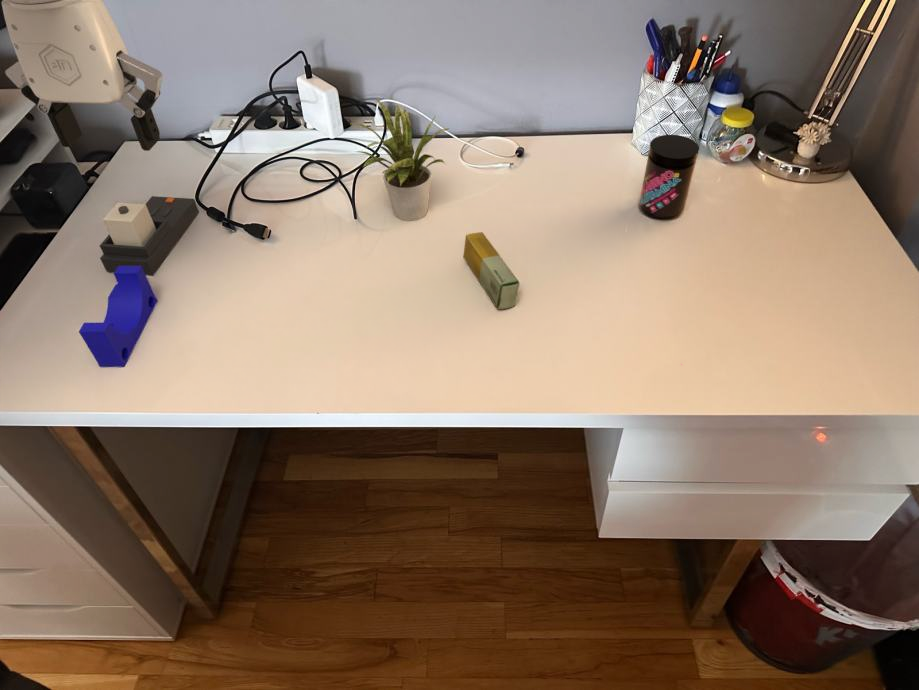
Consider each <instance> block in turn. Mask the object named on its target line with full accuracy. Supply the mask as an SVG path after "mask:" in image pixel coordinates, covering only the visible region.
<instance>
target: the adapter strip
mask: <svg viewBox="0 0 919 690" xmlns="http://www.w3.org/2000/svg"><path fill="white" fill-rule="evenodd" d="M145 204H146V206H147V209H148V211H149V213H150V216H151V218H152V221H153V223H154V225H155V228H156V232H155V233H154V234H153V235H152V237H151V238H150V239H149V240H148V242H147V243H146V244H145V246H144V247H142V246H128V245H114V243H113V240H112V238H111V236H110V234H109V233H108V235H107V236H106V237H105V238H104V240H103V241H102V242H101V243H100V245H99V248H100V250H101V251H102V252H101V253H102V255H101V256H100V258H99V259H100V261H101V263H102V265H103V267H104V269H105V271H106V272H107V273H113V274H114V272H115V270H116V269H117V267H118V266H142V269H143V271H144V273H145V275H146V276H155V274H156V273H157V271H158V270H159V268H160V267H161V265H163V263H164V261H165V260H166V259H167V257H168V256H169V254H170V253H171V252H172V250H173V249H174V248H175V246H176V245H177V243H179V241H180V240H181V238H182V237H183V235H184V234H185V233H186V231H187V230H188V229H189V228H190V225H191V224H192V223H193V222H194V220H195V219H196V217H197V216H198V215H199V213H200V210H199V208H198V204H197V203H196V200H195V198H188V197H187V198H186V197H175V196H173V197H171V196H156V195H151V197H150V198H149V199H148V200H147V201H146V203H145Z"/></svg>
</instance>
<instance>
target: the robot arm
mask: <svg viewBox="0 0 919 690" xmlns="http://www.w3.org/2000/svg"><path fill="white" fill-rule="evenodd" d="M1 7H2V13H3V17H4V21H5V24H6V28H7V32H8V35H9V38H10V42H11V44H12V47H13V49H14V52H15V55H16V57H17V60H18V61H16V62H15V63H14V64H12V65H11V66H10V67H8V68H6V69H5V71H4V73H5V75H6V77H7V78H8V79H9V80H10V81H11V82H12V83H13V84H14V85H15V86H16V87H17V88H18V89H20V91H21V94H22V95H23V96H24V97H25V98H26V99H28V100H29V101H31V103H33V104H34V105H36V107H37V110H38V111H39V112H40V113H41V114H43V115H47V117H48V120H49V122H50V125H51V126H52V128H53V130H54V132H55V135H56V136H57V138H58V140H59V142H60V144H61V146H62V148H69V147H71V146H72V145H74V143H75V142H76V141H77V140H79V138H81V137H82V135H83V133H82V132H83V131H82V130H81V128H80V125H79V124H78V123H79V122H77V118H76V117H75V113H74V112H73V110H72V108H71V106H70V105H69V104H82V105H83V104H84V105H86V104H87V105H113V104H116V103H119V104H120V105H122V106H123V107H124V108H126V110H128V111H129V112H130V113H131V114H132V116H131V118H130V122H131V124H132V127H133V128H132V129H133V130H134V132H135V135H136V138H137V140H138V143H139V145H140V149H142V150H143V151H145V152H147V151H148V152H149V151H151V150H152V148H154V146H155V145H156V144H157V143H158V142H159V141H160V138H161V137H160V129H159V126H158V124H157V121H156V118H155V115H154V113H153V110H152V108H153V107H154V106H155V103H156V102H157V100H158V98H159V97H160V96H161V87H162V82H163V81H162V80H163V73H162V72H161V71H160V70H159V69H157V68H155V67H153V66H151V65H149V64H147V63H144V62H142V61H140V60H138V59H136V58H134V57H132V56H130V54H129V52H128V50H127V47H126V45H125V43H124V41H123V39H122V36H121V34H120V32H119V30H118V28H117V26H116V24H115V22H114V20H113V18H112V16H111V14H110V12H109V10H108V8H107V7H106V5H105V3H104V1H103V0H1ZM137 79H139V80H141V81H142V82H143V84H144V89H142V88H141V87H140V86H138V85H137V83H138V80H137Z"/></svg>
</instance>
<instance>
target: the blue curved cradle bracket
mask: <svg viewBox="0 0 919 690" xmlns="http://www.w3.org/2000/svg"><path fill="white" fill-rule="evenodd" d="M113 276H114V277H115V281H116V283H115V285H114V286H113V287H112V290H111V291H110V293H109V295H108V297H107V308H106V314H105V317H104V320H103V321H102V322H83V324H82V325H81V327H80V329H79V331H78V333H79V334H80V336H81V339H82V340H83V341H84V343H85V345H86V346H87V348H88V349H89V351H90V353H91V355H92V356H93V358H94V360H95V361H96V363H97V364H98V367H100V368H124V367H126V365H127V362H128V360H129V359H130V357H131V354H132V353H133V350H134V349H135V347H136V344H137V342H138V341H139V339H140V337H141V335H142V333H143V330H144V329H145V327H146V325H147V323H148V321H149V319H150V317H151V315H152V313H153V311H154V309H155V307H156V305H157V303H158V299H157V297H156V294H155V293H154V290H153V288H152V285H151V284H150V281H149V279H148V277H147V275H145V273H144V271H143V269H142V266H118V267H117V269H116V270H115V272H114V273H113Z"/></svg>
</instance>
